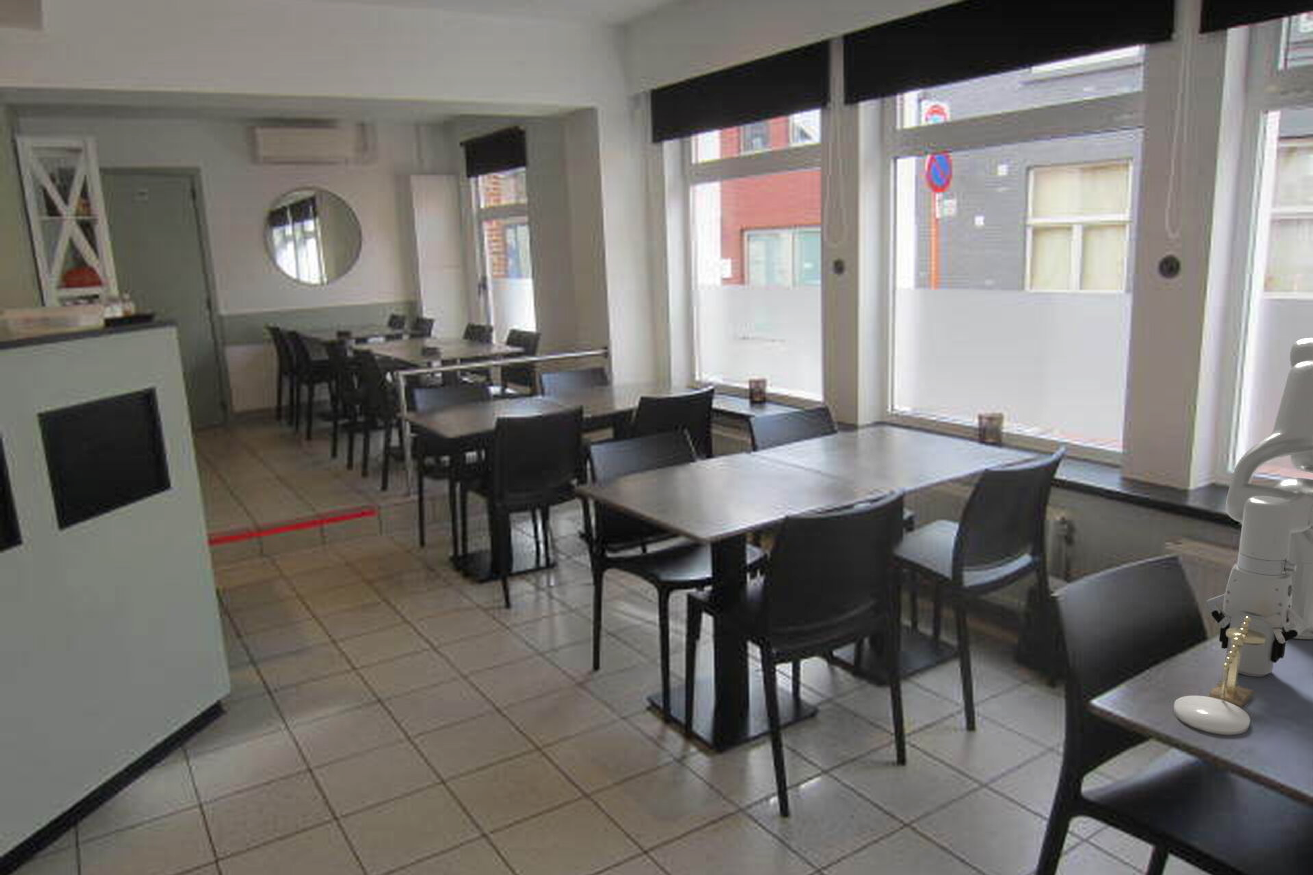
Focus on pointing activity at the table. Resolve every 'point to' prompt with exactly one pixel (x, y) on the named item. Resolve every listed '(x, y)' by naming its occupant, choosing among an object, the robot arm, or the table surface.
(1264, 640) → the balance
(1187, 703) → the white rounded disc
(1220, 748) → the table surface
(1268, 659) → the can
